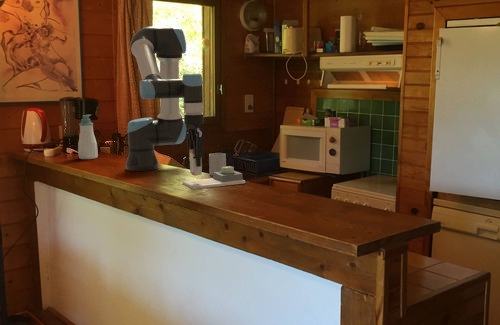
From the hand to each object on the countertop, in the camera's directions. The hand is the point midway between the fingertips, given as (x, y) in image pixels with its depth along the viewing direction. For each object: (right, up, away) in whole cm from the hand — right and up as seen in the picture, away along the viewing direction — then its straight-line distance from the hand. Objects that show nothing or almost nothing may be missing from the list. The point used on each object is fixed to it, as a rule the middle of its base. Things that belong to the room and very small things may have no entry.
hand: (196, 173), depth 221 cm
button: (+12, -1, +7) cm, 14 cm away
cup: (+6, -1, +25) cm, 26 cm away
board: (+7, -4, +4) cm, 9 cm away
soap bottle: (-65, +6, +79) cm, 102 cm away
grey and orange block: (0, 0, 0) cm, 0 cm away
